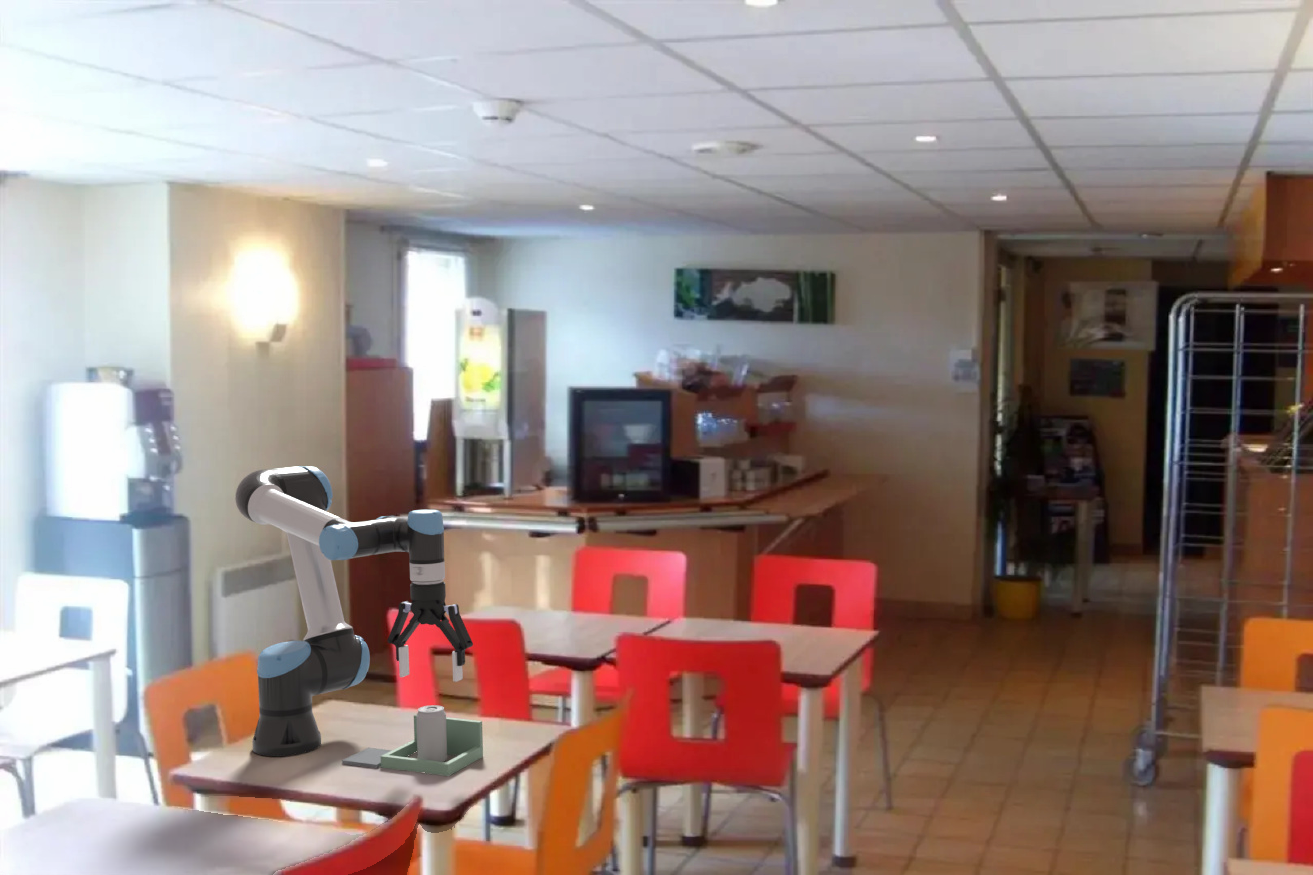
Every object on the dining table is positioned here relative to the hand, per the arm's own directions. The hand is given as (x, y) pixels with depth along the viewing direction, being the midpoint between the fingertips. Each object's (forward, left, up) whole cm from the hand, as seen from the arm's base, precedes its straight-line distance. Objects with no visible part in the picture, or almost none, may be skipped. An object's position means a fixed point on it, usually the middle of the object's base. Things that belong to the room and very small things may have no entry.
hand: (431, 678), depth 294 cm
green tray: (0, 0, -19) cm, 19 cm away
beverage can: (0, 0, -19) cm, 19 cm away
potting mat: (-14, -3, -19) cm, 23 cm away
